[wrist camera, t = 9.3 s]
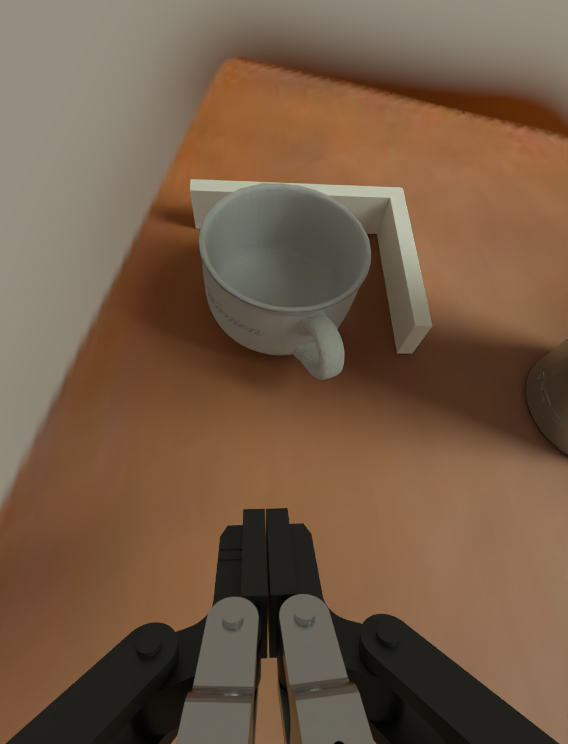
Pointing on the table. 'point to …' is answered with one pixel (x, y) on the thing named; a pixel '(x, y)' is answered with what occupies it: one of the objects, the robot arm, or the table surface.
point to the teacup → (284, 271)
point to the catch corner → (377, 216)
